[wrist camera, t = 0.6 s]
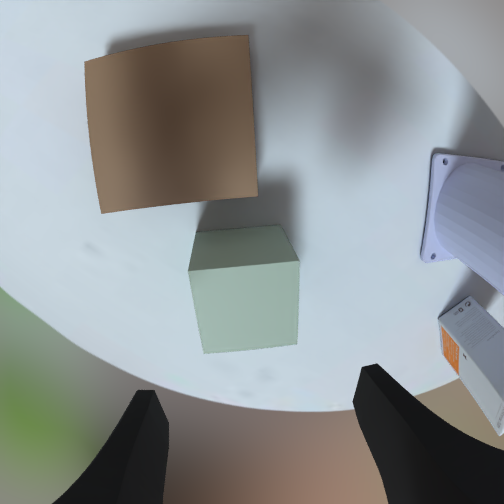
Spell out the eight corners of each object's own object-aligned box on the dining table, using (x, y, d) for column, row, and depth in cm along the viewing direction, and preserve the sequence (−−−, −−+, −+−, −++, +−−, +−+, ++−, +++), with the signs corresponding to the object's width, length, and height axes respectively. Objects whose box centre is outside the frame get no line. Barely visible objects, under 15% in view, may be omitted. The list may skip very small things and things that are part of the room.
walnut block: (243, 49, 14) (248, 35, 11) (252, 184, 17) (258, 196, 15) (105, 69, 14) (84, 61, 11) (118, 199, 17) (101, 213, 14)
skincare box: (435, 318, 23) (511, 411, 12) (469, 293, 23) (549, 374, 12) (440, 355, 26) (498, 438, 15) (470, 333, 25) (533, 408, 14)
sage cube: (279, 224, 18) (299, 260, 14) (281, 295, 20) (297, 344, 16) (195, 231, 18) (188, 271, 13) (206, 302, 20) (203, 353, 15)
